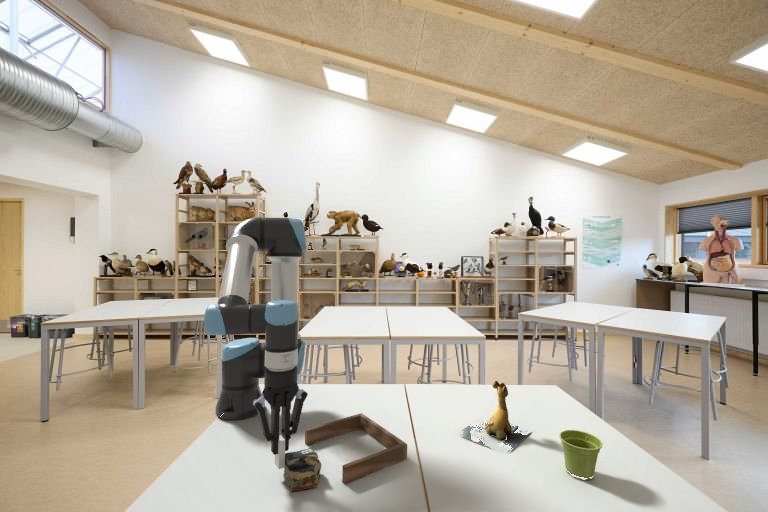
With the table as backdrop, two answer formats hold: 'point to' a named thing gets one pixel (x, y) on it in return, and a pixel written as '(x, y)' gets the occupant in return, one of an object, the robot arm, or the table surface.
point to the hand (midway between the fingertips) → (279, 465)
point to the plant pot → (580, 452)
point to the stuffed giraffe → (499, 421)
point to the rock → (302, 469)
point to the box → (369, 463)
